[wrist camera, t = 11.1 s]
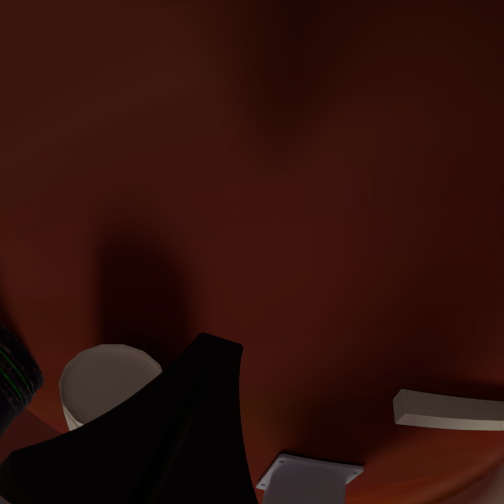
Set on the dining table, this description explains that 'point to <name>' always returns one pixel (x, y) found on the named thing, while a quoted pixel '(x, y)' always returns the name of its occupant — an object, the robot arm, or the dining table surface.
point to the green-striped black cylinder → (15, 378)
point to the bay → (447, 411)
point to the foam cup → (103, 380)
